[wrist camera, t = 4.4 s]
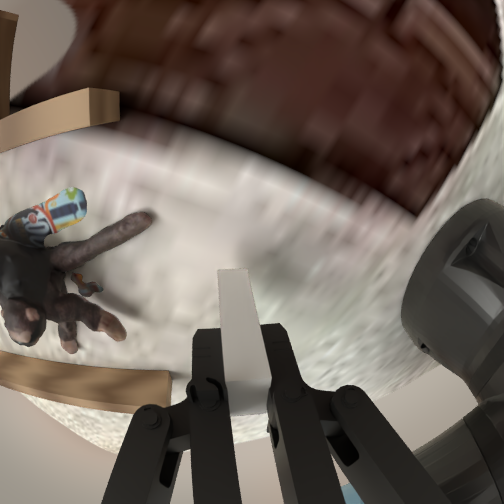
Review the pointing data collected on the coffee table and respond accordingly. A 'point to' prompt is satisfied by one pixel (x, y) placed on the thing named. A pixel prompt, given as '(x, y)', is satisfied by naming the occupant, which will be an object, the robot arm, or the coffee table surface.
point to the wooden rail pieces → (48, 372)
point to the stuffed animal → (55, 271)
